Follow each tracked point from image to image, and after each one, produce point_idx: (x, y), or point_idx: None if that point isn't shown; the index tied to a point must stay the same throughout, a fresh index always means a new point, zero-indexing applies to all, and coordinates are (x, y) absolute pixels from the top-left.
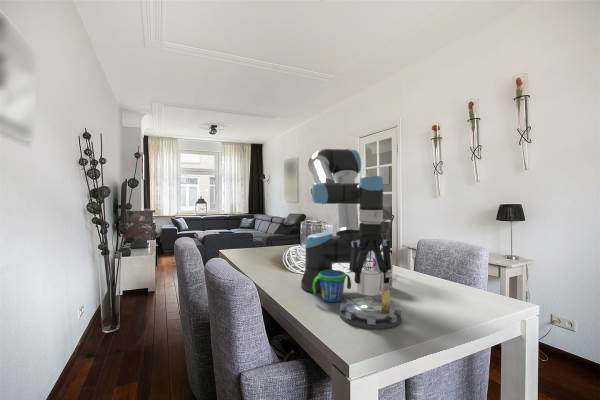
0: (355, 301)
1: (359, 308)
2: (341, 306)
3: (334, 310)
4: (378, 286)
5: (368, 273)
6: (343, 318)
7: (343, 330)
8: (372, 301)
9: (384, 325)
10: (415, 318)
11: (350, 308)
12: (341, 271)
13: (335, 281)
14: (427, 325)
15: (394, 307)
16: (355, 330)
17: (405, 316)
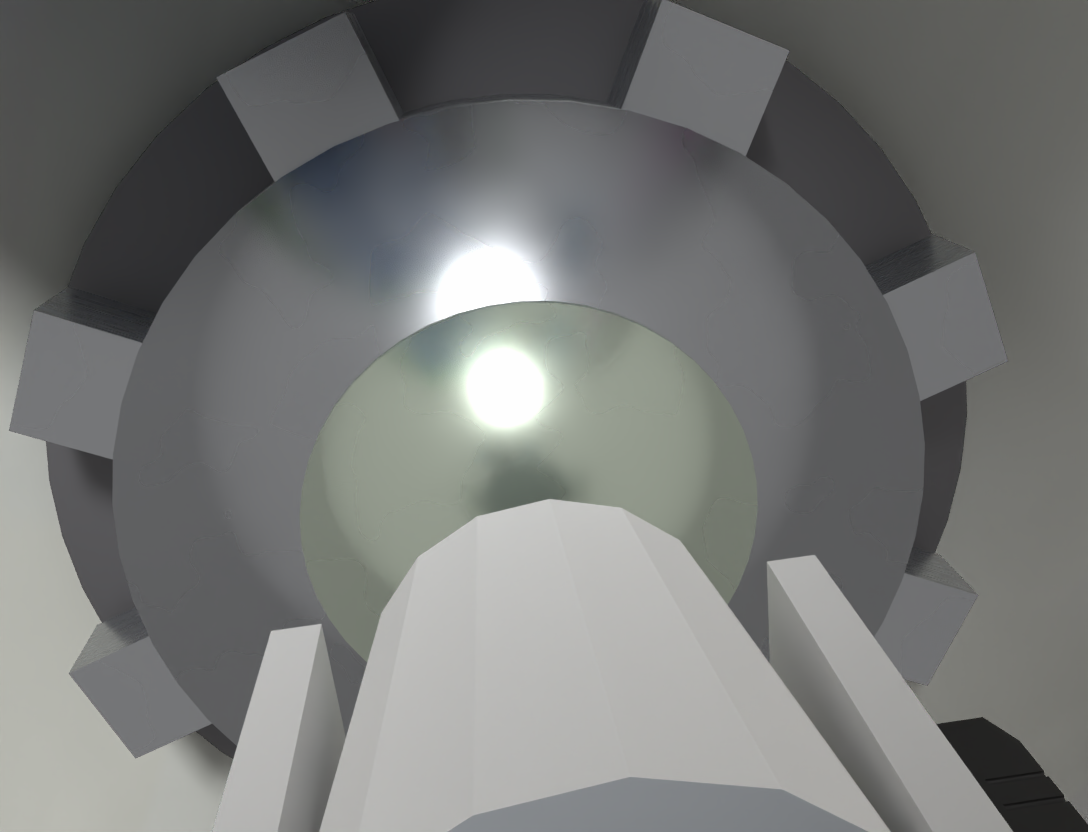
0: (351, 288)
1: (323, 599)
2: (43, 434)
3: (3, 175)
4: None
5: None
6: (84, 573)
7: (47, 795)
8: (661, 355)
9: None
10: (1076, 580)
11: (172, 584)
12: None
13: None
14: (1068, 751)
15: (888, 605)
16: (195, 803)
17: (997, 514)
